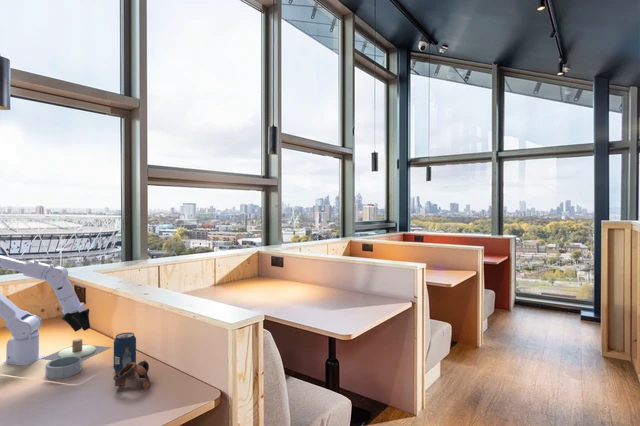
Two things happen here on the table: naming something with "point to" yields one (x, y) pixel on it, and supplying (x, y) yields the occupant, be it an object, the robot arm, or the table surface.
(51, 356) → the mat
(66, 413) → the table surface
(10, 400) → the table surface
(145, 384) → the brown lumpy object
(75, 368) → the bowl
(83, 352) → the lid
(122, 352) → the soda can
